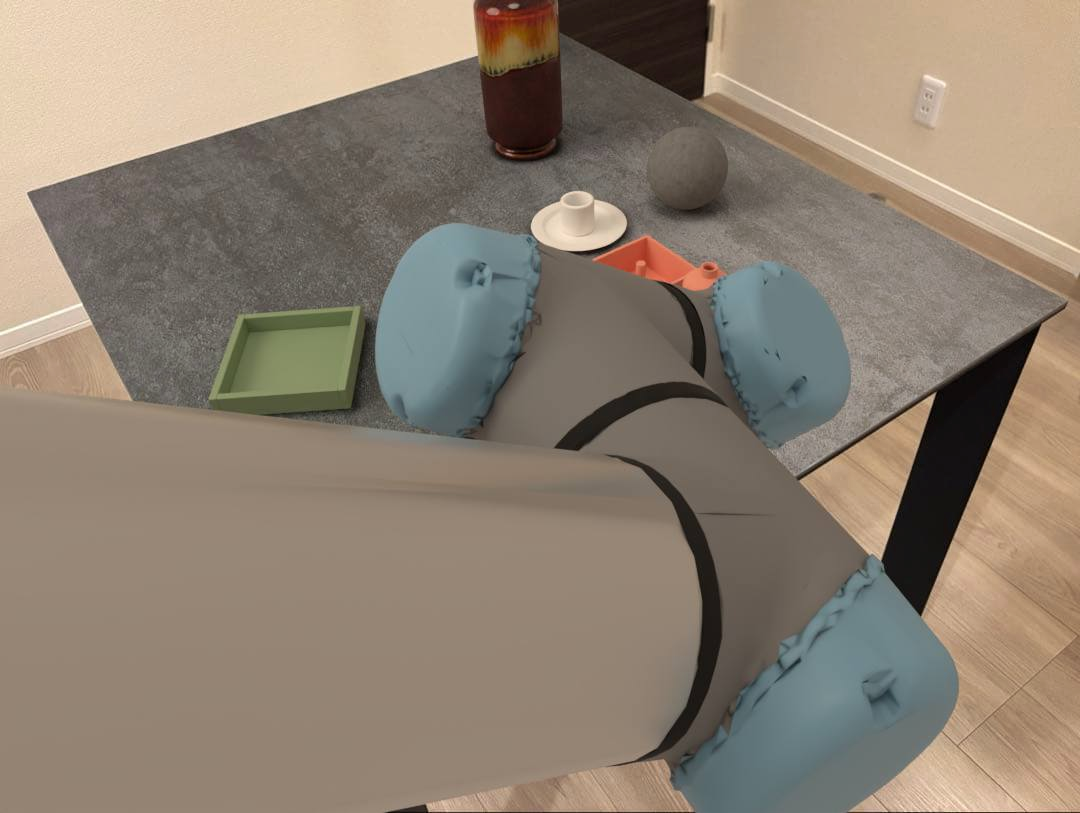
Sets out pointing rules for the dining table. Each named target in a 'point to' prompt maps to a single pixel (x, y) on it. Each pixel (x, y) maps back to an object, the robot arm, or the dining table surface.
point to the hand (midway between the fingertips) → (385, 540)
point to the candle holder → (578, 223)
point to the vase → (520, 75)
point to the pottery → (661, 264)
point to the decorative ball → (687, 168)
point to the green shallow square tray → (290, 362)
